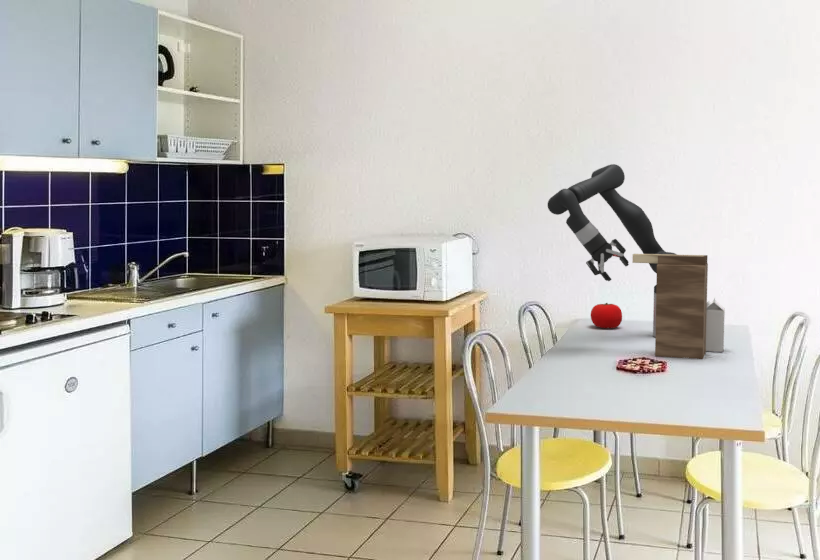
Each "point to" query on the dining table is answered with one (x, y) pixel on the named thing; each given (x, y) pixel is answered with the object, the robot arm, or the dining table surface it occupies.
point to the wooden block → (652, 257)
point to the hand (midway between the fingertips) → (618, 273)
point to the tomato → (606, 315)
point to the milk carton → (715, 327)
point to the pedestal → (681, 306)
